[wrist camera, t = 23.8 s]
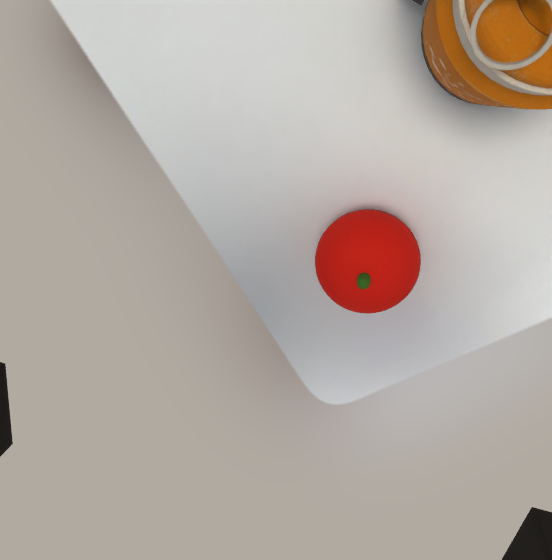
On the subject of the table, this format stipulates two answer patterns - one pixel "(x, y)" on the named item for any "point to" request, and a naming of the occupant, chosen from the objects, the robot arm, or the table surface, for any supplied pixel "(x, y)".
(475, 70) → the canister
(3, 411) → the robot arm
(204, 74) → the table surface
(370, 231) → the tomato
